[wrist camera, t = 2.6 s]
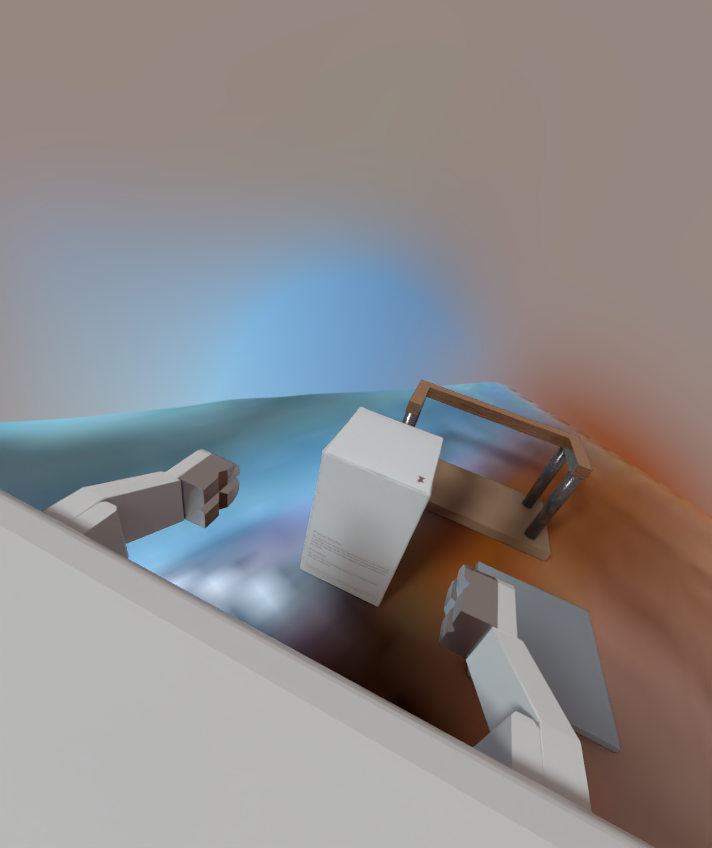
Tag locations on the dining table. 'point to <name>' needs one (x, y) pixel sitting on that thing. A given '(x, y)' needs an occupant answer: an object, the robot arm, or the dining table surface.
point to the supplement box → (368, 502)
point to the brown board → (486, 508)
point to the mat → (564, 658)
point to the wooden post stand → (568, 443)
